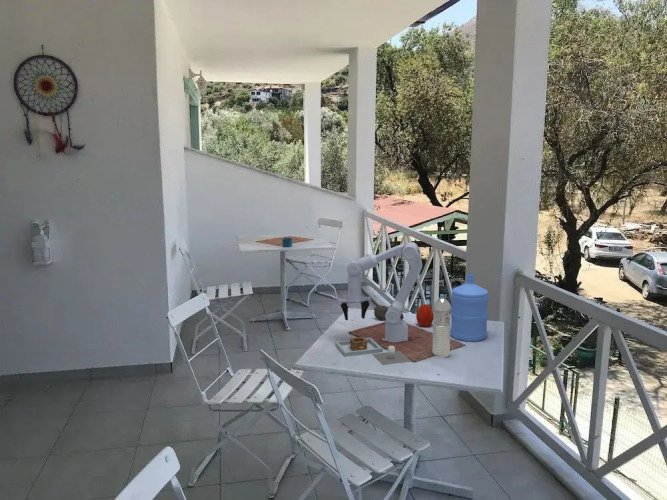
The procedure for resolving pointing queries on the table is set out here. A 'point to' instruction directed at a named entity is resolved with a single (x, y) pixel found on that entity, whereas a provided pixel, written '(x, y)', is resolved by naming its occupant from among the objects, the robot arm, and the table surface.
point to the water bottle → (441, 327)
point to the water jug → (469, 311)
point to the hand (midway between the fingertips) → (354, 318)
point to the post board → (392, 361)
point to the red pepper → (424, 315)
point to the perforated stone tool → (382, 312)
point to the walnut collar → (358, 344)
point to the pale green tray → (359, 352)
